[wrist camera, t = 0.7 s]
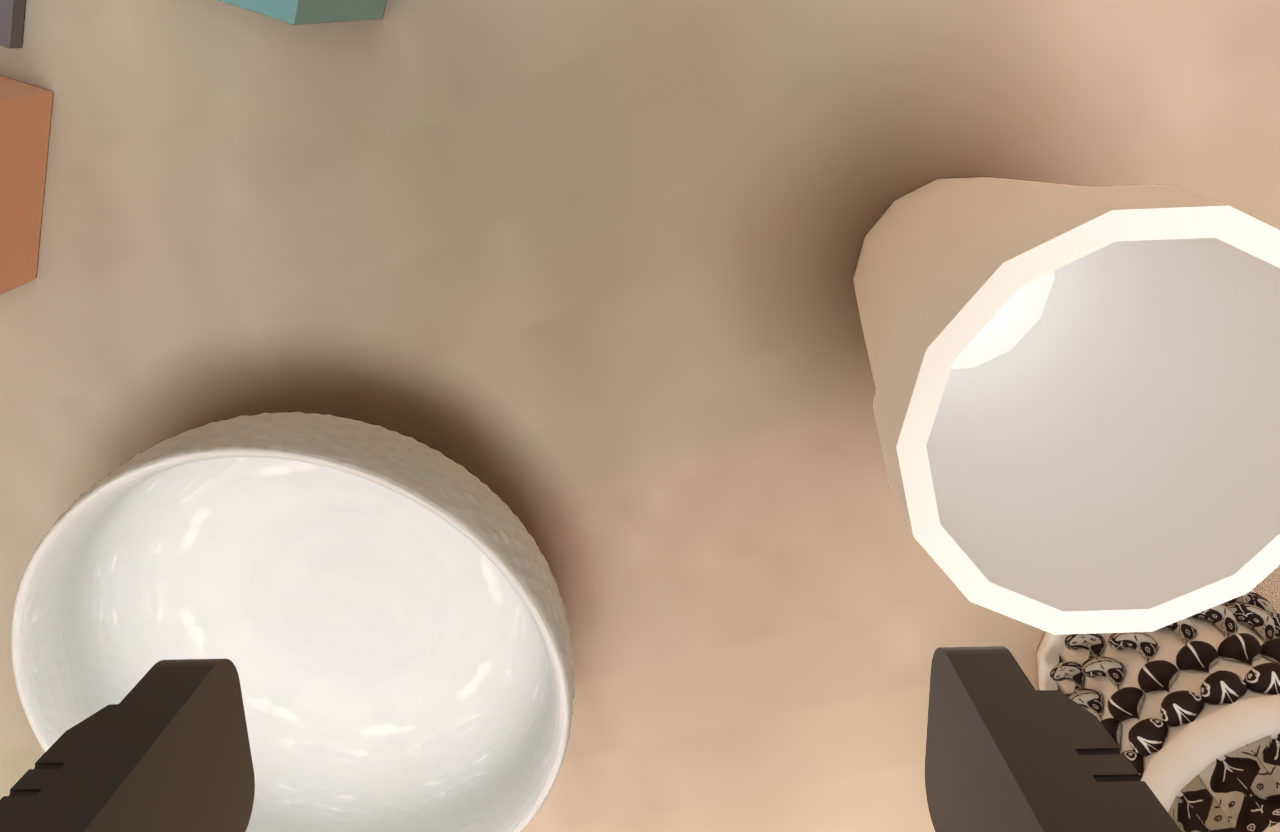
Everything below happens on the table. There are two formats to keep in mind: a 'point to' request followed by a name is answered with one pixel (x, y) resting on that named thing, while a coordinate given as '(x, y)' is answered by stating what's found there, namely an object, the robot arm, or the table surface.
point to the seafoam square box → (314, 10)
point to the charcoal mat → (11, 23)
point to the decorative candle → (1188, 709)
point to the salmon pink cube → (22, 177)
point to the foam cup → (1079, 395)
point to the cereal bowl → (316, 620)
